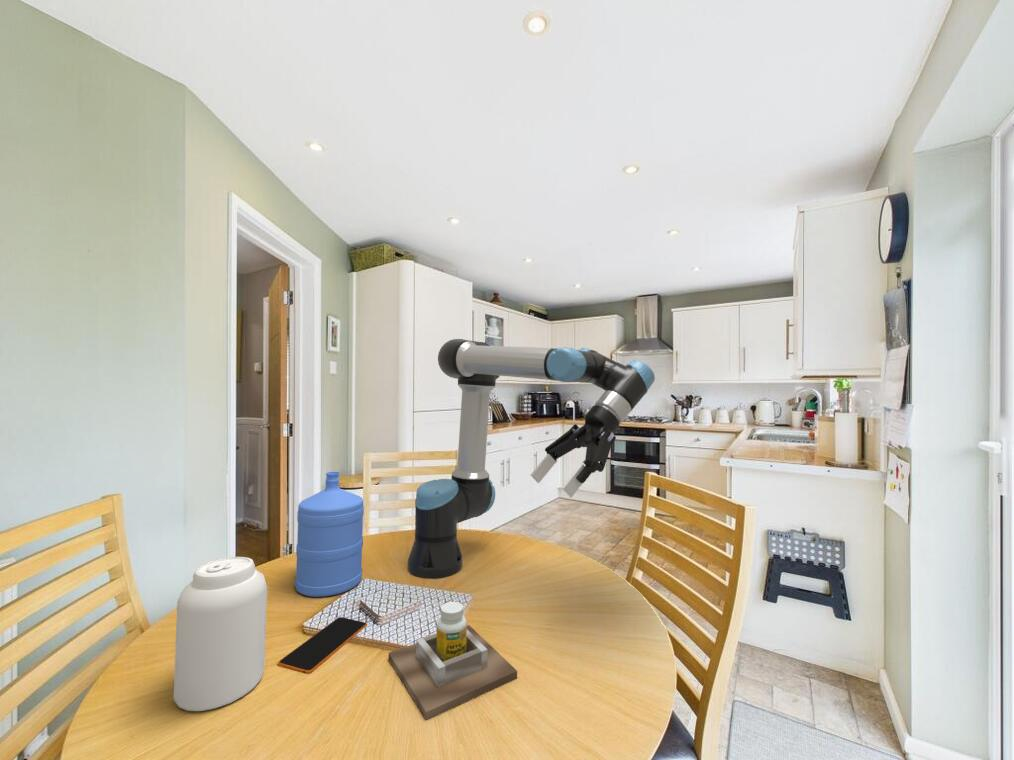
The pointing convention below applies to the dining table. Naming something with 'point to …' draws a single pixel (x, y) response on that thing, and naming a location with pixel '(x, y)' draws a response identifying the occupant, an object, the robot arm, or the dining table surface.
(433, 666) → the square framed base tray
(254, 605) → the can
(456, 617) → the supplement bottle
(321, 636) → the smartphone
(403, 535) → the dining table surface
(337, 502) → the water jug
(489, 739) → the dining table surface
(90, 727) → the dining table surface
